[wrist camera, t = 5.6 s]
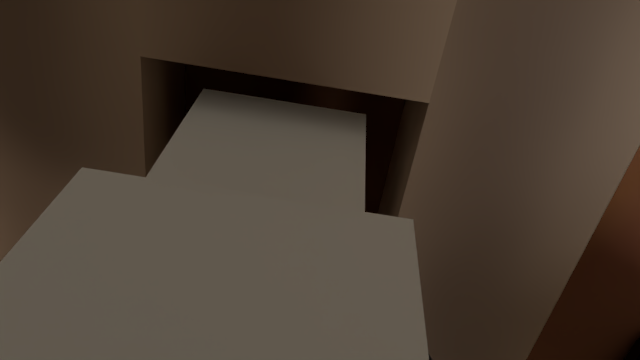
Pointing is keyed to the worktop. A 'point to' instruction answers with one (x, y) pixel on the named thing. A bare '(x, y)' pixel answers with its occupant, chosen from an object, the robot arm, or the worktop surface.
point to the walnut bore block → (368, 77)
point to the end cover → (221, 250)
